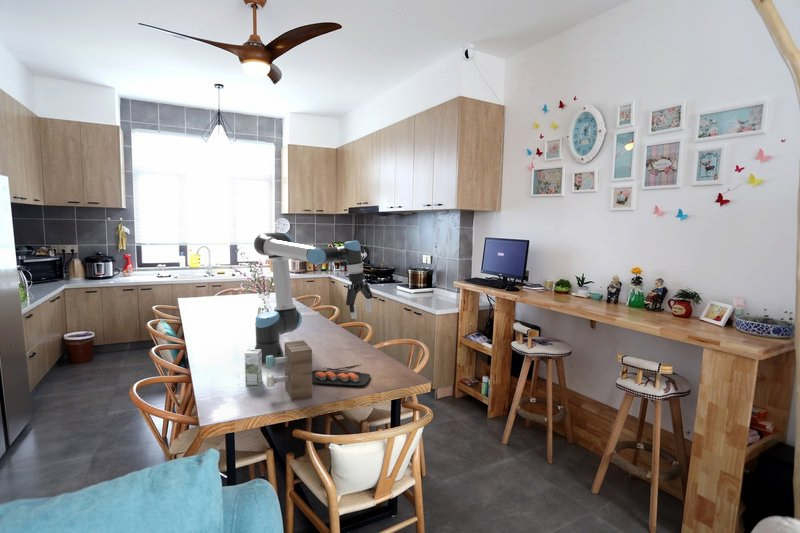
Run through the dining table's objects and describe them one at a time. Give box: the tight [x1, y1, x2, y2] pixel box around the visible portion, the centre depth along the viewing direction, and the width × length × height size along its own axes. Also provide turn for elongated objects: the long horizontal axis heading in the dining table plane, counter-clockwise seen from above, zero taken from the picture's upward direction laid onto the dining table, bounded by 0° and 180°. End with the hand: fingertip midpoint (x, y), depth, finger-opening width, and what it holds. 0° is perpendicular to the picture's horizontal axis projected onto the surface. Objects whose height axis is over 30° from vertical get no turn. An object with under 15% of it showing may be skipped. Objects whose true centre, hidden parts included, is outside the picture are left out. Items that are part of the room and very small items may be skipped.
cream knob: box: [266, 374, 289, 388], centre depth 167 cm, size 5×10×5 cm, turn 116°
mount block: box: [284, 340, 313, 402], centre depth 169 cm, size 14×8×20 cm, turn 26°
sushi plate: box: [312, 364, 371, 387], centre depth 193 cm, size 29×30×4 cm
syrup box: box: [244, 348, 263, 386], centre depth 180 cm, size 6×6×14 cm
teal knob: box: [265, 355, 289, 368], centre depth 166 cm, size 5×10×5 cm, turn 116°
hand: (362, 315), depth 204 cm, fingers open, 13 cm apart
